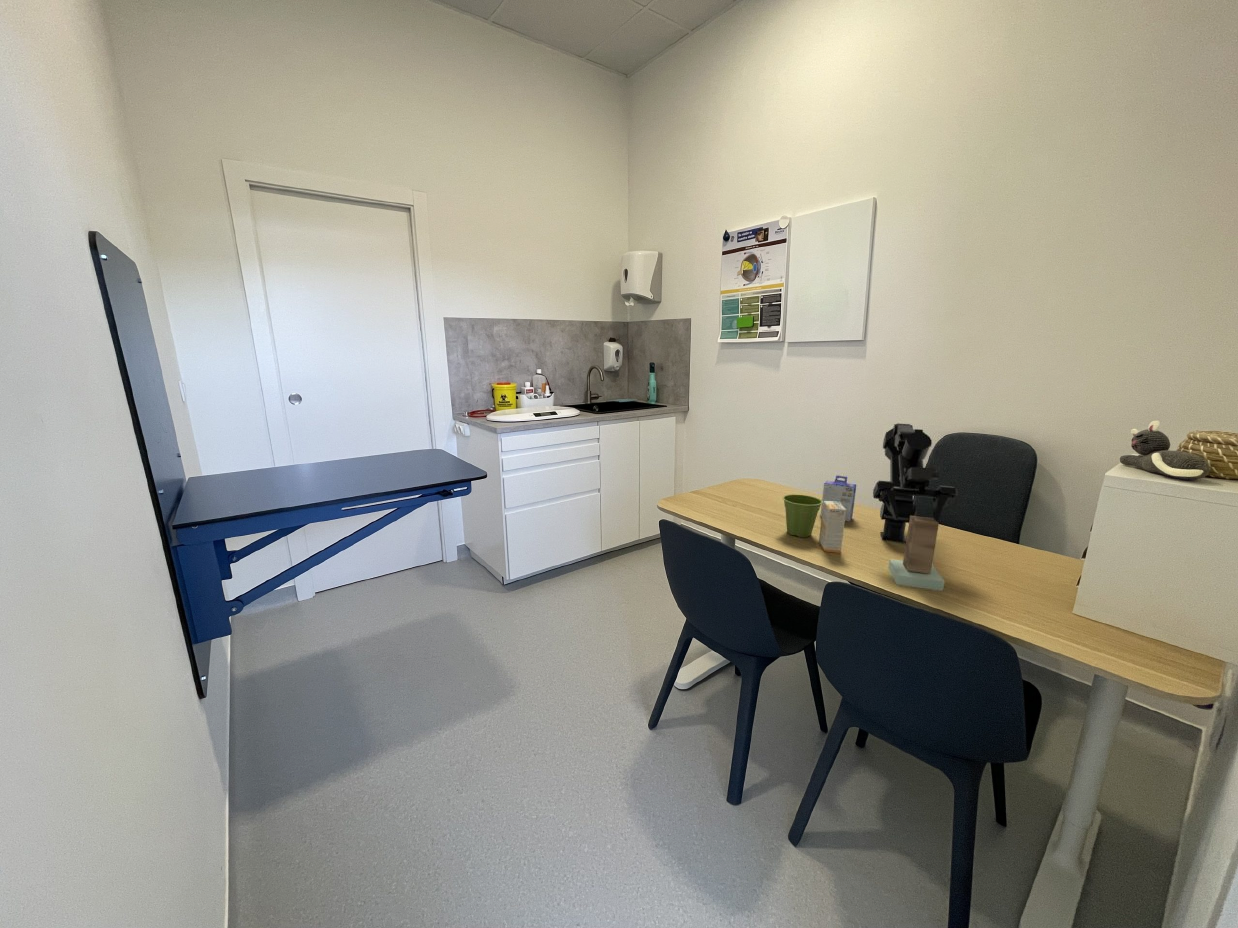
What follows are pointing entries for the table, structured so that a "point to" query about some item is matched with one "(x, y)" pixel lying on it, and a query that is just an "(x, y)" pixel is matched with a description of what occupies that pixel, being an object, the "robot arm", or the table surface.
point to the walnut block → (920, 544)
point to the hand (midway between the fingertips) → (916, 521)
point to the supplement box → (832, 526)
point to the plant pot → (801, 513)
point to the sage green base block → (915, 576)
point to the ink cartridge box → (840, 494)
